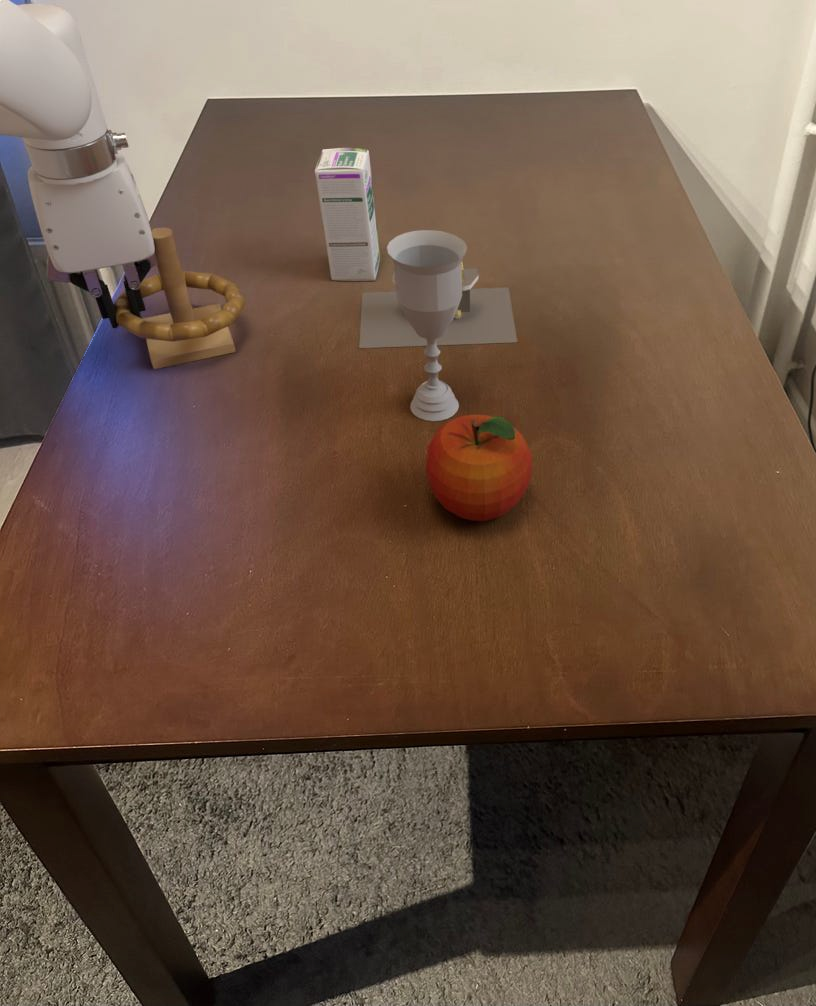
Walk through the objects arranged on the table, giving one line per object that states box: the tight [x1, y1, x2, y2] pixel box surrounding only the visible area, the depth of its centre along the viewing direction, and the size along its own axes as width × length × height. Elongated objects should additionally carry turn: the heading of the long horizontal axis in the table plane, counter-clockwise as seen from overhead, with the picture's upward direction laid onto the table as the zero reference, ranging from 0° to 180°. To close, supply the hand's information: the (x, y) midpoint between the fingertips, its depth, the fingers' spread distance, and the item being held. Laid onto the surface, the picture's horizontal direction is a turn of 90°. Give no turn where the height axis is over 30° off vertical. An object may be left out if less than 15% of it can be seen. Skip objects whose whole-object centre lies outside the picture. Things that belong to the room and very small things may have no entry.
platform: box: [358, 261, 518, 349], centre depth 103 cm, size 12×18×7 cm, turn 94°
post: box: [142, 226, 236, 370], centre depth 97 cm, size 9×9×13 cm
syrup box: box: [314, 147, 381, 282], centre depth 108 cm, size 6×6×14 cm
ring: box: [113, 270, 245, 342], centre depth 99 cm, size 14×14×2 cm
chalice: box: [386, 229, 468, 422], centre depth 87 cm, size 7×7×18 cm
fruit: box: [425, 414, 533, 522], centre depth 79 cm, size 10×10×10 cm
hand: (126, 318), depth 97 cm, fingers closed on ring, 1 cm apart
